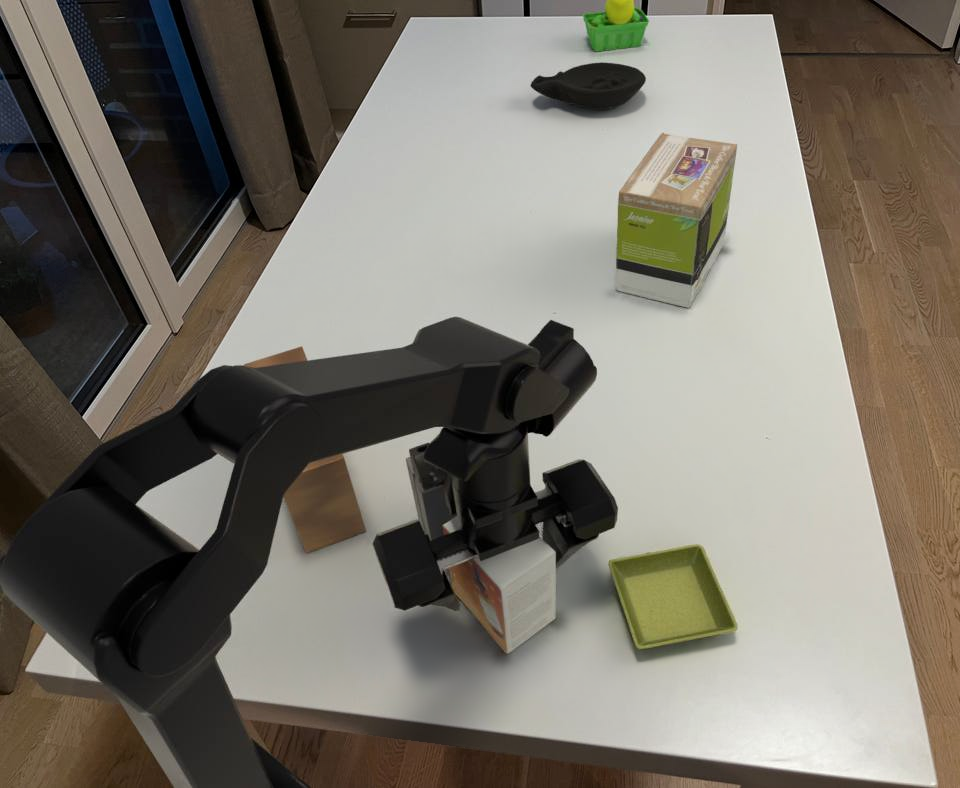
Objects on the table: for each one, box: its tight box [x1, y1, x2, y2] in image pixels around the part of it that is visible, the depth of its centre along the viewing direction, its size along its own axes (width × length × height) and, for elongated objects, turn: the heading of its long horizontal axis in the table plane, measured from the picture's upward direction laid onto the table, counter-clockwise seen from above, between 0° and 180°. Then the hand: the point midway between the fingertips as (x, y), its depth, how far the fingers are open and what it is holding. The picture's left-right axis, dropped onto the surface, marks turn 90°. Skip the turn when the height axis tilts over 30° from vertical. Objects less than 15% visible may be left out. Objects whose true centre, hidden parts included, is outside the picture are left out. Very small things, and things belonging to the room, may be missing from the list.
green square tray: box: [607, 543, 739, 650], centre depth 68 cm, size 9×9×2 cm
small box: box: [443, 516, 557, 654], centre depth 67 cm, size 8×6×10 cm
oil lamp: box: [530, 61, 647, 110], centre depth 137 cm, size 15×20×5 cm
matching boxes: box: [243, 346, 367, 554], centre depth 78 cm, size 6×16×11 cm, turn 22°
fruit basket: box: [582, 0, 650, 52], centre depth 151 cm, size 11×9×11 cm
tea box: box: [614, 132, 738, 308], centre depth 98 cm, size 15×10×15 cm
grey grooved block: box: [405, 456, 457, 540], centre depth 73 cm, size 8×4×10 cm, turn 112°
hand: (502, 587), depth 68 cm, fingers open, 8 cm apart
